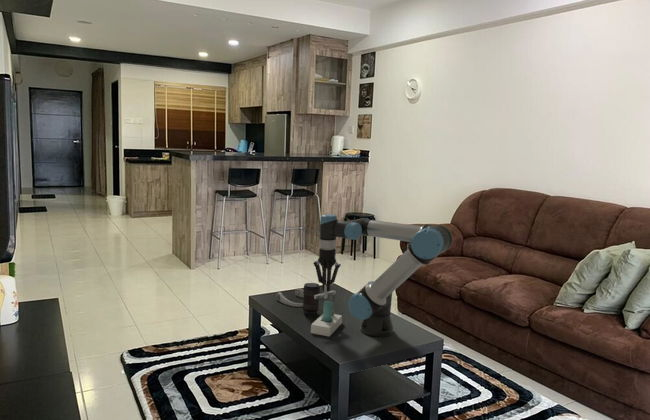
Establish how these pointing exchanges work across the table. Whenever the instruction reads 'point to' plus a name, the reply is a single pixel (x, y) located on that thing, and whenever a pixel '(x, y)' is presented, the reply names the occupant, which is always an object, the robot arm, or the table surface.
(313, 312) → the camera lens
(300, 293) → the neck fan
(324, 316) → the plug
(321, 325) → the grey block with rod
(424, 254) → the robot arm
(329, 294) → the grey square bar
